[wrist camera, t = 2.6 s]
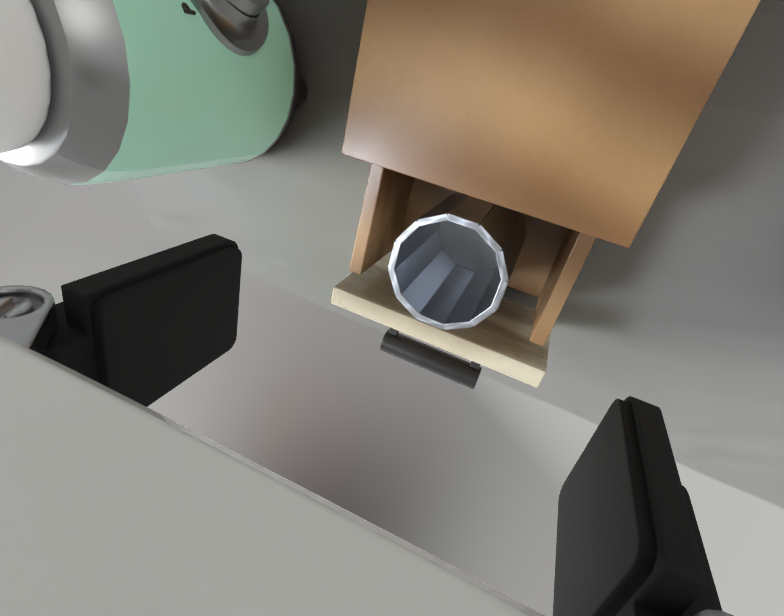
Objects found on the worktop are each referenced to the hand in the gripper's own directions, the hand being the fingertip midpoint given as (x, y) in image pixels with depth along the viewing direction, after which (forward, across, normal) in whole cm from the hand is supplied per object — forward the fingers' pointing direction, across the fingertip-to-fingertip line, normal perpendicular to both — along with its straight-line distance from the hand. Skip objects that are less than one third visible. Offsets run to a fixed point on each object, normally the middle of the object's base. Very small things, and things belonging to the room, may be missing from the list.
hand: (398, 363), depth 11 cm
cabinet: (+23, +1, -9) cm, 24 cm away
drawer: (+22, +1, +3) cm, 22 cm away
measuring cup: (+21, +1, +2) cm, 21 cm away
